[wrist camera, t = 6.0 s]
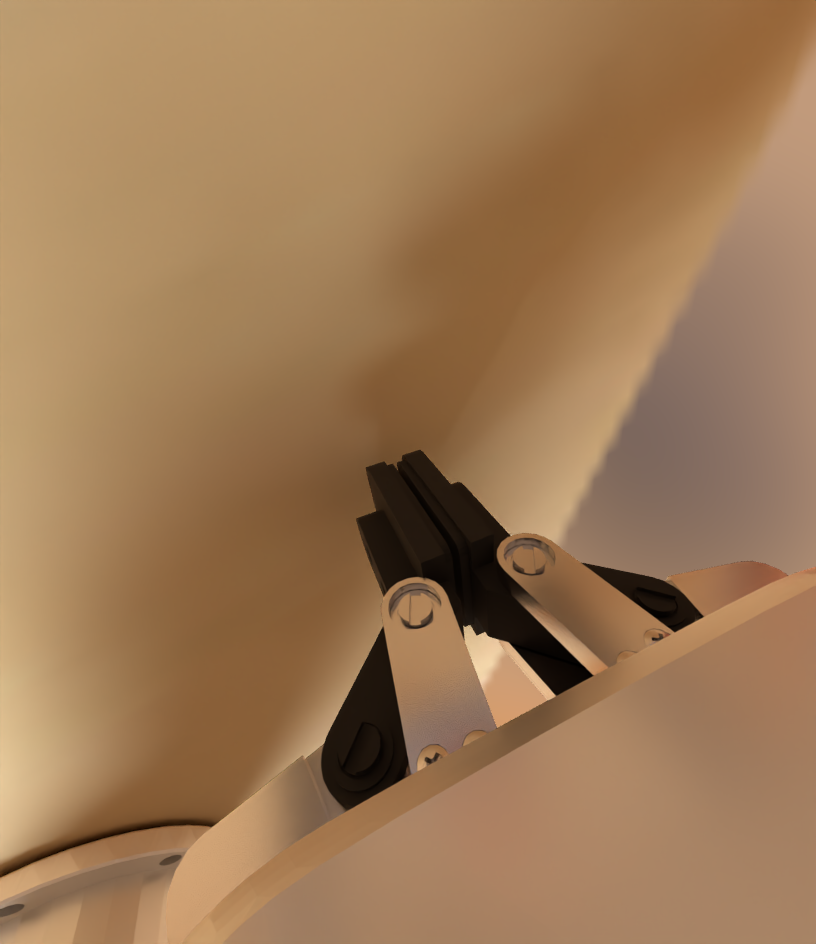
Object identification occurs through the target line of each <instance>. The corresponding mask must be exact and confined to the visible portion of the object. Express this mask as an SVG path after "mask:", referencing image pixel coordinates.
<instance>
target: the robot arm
mask: <svg viewBox="0 0 816 944" xmlns="http://www.w3.org/2000/svg"><path fill="white" fill-rule="evenodd" d="M397 467H398V471H397V469H396V468H395V466H394V465H393V464H391V465H388V466H387V464H386V463H385V462H381V463H378V464H375V465H372V466H369V467H366V471H367V476H368V480H369V484H370V488H371V492H372V496H373V500H374V504H375V508H376V512H373V513H371V514H368V515H365V516H362V517H359V518H357V519H356V520H357V524H358V528H359V531H360V534H361V538H362V541H363V544H364V547H365V550H366V553H367V555H368V558H369V561H370V563H371V566H372V569H373V571H374V573H375V576H376V578H377V581H378V583H379V586H380V588H381V591H382V593H383V596H384V599H383V601H382V604H381V615H382V621H383V628H382V630H381V631H380V633H379V635H378V637H377V639H376V641H375V643H374V645H373V647H372V649H371V651H370V653H369V655H368V657H367V659H366V661H365V663H364V665H363V666H362V668H361V670H360V672H359V674H358V676H357V678H356V680H355V682H354V684H353V686H352V688H351V690H350V692H349V694H348V696H347V698H346V700H345V701H344V703H343V705H342V707H341V709H340V711H339V713H338V715H337V717H336V719H335V721H334V723H333V725H332V727H331V729H330V731H329V733H328V735H327V737H326V740H325V743H324V744H323V745H322V746H321V747H320V748H318V749H317V750H316V751H315V752H313V753H312V754H311V755H310V756H308V757H307V758H306V759H305V758H304V756H301V757H300V758H299V759H297V760H296V761H295V762H294V763H292V764H291V765H290V766H289V767H287V768H286V769H285V770H284V771H282V772H281V773H280V774H279V775H277V776H276V777H275V778H274V779H272V780H271V781H270V782H269V783H267V784H266V785H265V786H263V787H262V788H261V789H260V790H258V791H257V792H256V793H255V794H253V795H252V796H251V797H250V798H248V799H247V800H246V801H245V802H243V803H242V804H241V805H240V806H238V807H237V808H236V809H235V810H233V811H232V812H231V813H230V814H228V815H227V816H226V817H224V818H223V819H222V820H221V821H219V822H218V823H217V824H216V825H214V826H213V827H209V826H198V825H179V826H164V827H157V828H151V829H144V830H138V831H133V832H129V833H124V834H120V835H116V836H111V837H107V838H103V839H100V840H96V841H93V842H90V843H87V844H83V845H80V846H77V847H73V848H70V849H67V850H65V851H62V852H59V853H57V854H54V855H51V856H49V857H46V858H43V859H41V860H38V861H35V862H33V863H31V864H29V865H27V866H24V867H22V868H20V869H18V870H16V871H13V872H11V873H9V874H7V875H5V876H2V877H0V944H816V567H813V568H809V569H806V570H803V571H800V572H796V573H794V574H791V575H787V574H786V573H784V572H782V571H781V570H779V569H777V568H775V567H772V566H770V565H767V564H764V563H759V562H754V561H741V562H736V563H731V564H726V565H721V566H716V567H711V568H706V569H701V570H696V571H691V572H686V573H681V574H676V575H671V576H668V577H667V580H666V581H663V580H660V579H656V578H653V577H649V576H644V575H639V574H635V573H630V572H624V571H620V570H615V569H610V568H605V567H600V566H595V565H590V564H586V563H581V562H579V561H578V560H576V559H575V558H574V557H572V556H571V555H570V554H568V553H567V552H566V551H564V550H563V549H562V548H560V547H559V546H558V545H556V544H555V543H554V542H552V541H551V540H549V539H547V538H545V537H543V536H540V535H537V534H531V533H521V534H515V535H512V536H510V535H509V534H508V533H507V532H506V531H505V529H504V528H503V527H502V526H501V525H500V524H499V523H498V522H497V521H496V520H495V518H494V517H493V516H492V515H491V514H490V513H489V512H488V511H487V510H486V509H485V508H484V506H483V505H482V504H481V503H480V502H479V501H478V500H477V499H476V498H475V497H474V496H473V494H472V493H471V492H470V491H469V490H468V489H467V488H466V487H465V486H464V485H463V484H462V483H460V482H457V483H454V484H450V483H449V482H448V481H447V479H446V478H445V477H444V476H443V475H442V474H441V472H440V471H439V470H438V469H437V468H436V467H435V466H434V464H433V463H432V462H431V461H430V460H429V459H428V457H427V456H426V455H425V454H424V453H423V452H422V451H421V450H417V451H414V452H411V453H408V454H405V455H403V456H402V461H400V462H397ZM463 625H464V626H465V627H466V626H468V625H471V627H472V628H473V630H474V632H475V633H476V635H479V634H481V633H483V632H486V634H487V635H488V636H489V637H492V638H495V639H499V643H500V644H501V646H502V647H503V649H504V650H505V651H506V653H507V654H508V655H509V656H510V657H511V658H512V660H513V661H514V662H515V663H516V664H517V666H518V667H519V668H520V669H521V670H522V671H523V673H524V674H525V675H526V676H527V677H528V678H529V680H530V681H531V682H532V683H533V684H534V685H535V686H536V688H537V689H538V690H539V691H540V692H541V694H542V695H543V696H544V697H545V698H546V699H547V701H546V702H544V703H543V704H541V705H539V706H537V707H535V708H533V709H532V710H530V711H528V712H526V713H524V714H522V715H520V716H519V717H517V718H515V719H513V720H511V721H509V722H508V723H506V724H504V725H502V726H500V727H498V728H497V727H496V724H495V722H494V719H493V716H492V713H491V711H490V708H489V705H488V703H487V700H486V697H485V695H484V692H483V689H482V687H481V684H480V681H479V679H478V676H477V673H476V671H475V668H474V665H473V663H472V660H471V657H470V655H469V652H468V649H467V647H466V644H465V640H464V629H463Z"/></svg>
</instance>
